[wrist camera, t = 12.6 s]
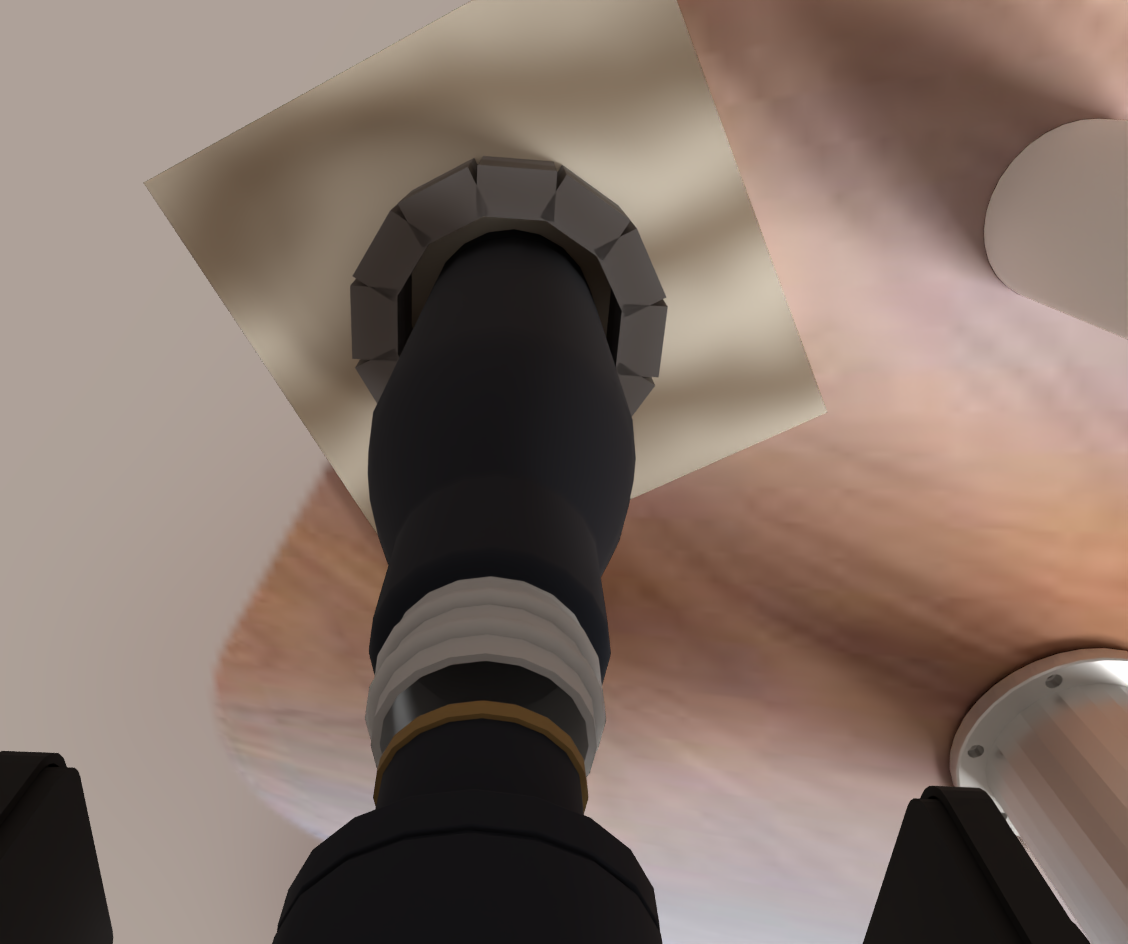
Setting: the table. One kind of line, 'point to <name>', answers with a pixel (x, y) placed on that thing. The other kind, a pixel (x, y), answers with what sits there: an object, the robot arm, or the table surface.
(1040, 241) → the cylindrical container
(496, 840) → the wine bottle
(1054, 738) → the robot arm
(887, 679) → the table surface
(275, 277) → the bottle stand
